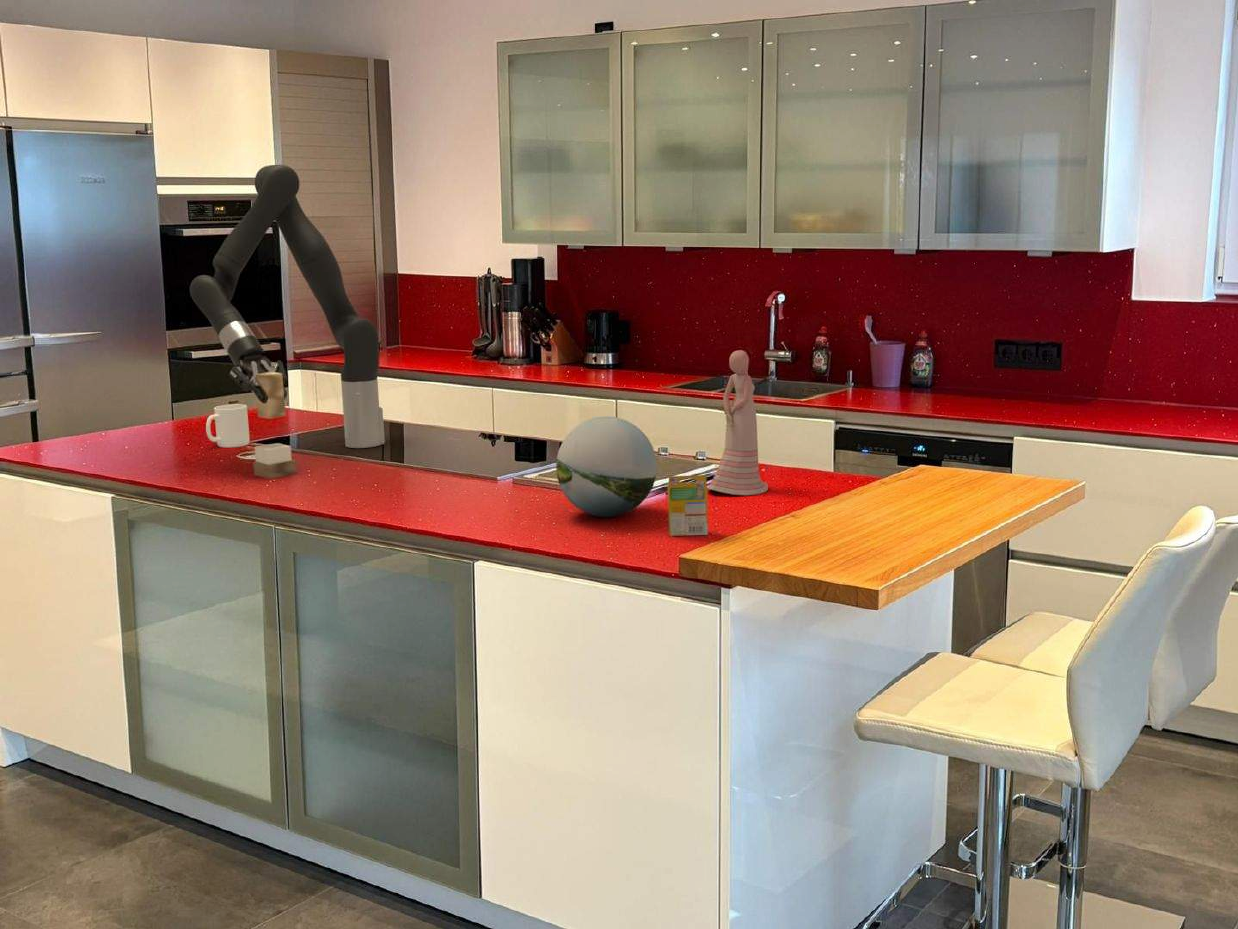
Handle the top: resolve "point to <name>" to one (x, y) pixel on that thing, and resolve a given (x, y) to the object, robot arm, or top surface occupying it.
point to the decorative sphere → (606, 466)
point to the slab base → (275, 469)
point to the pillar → (271, 395)
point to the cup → (229, 426)
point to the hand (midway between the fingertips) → (275, 399)
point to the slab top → (273, 453)
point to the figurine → (739, 436)
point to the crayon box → (687, 506)
